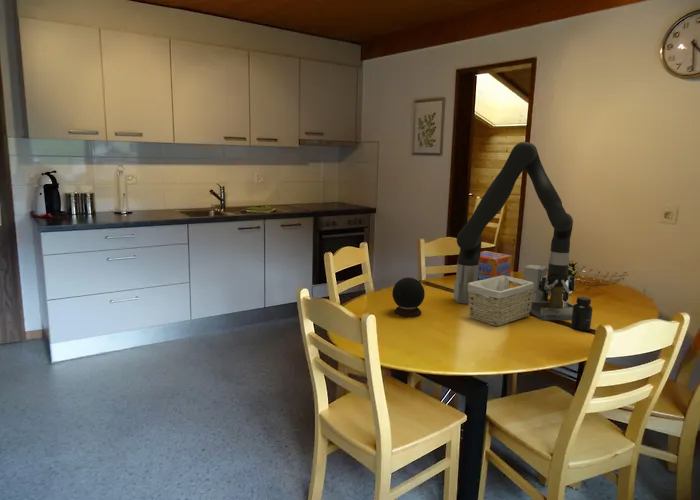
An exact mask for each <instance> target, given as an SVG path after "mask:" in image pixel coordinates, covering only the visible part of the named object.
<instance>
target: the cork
mask: <svg viewBox="0 0 700 500" xmlns="http://www.w3.org/2000/svg"><path fill="white" fill-rule="evenodd" d="M550 292H551V295H550V298H549V306H548V308H563V307H564V302H563V303H562V301H563V293H564V289H563V287H553V288H552V289H550Z"/></svg>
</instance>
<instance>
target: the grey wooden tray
mask: <svg viewBox="0 0 700 500" xmlns="http://www.w3.org/2000/svg"><path fill="white" fill-rule="evenodd" d="M549 301H550V300H549ZM549 301H547V302H545V301H543V300H541V301H537V302H536V301H531V304H530V305H531V307H530V312H529V313H531V314H532V315H534V316H535V317H537V318H538V319H540V320H541V321H570V320H572V312H573V306H574V305H575V304H573V303H571V302H570V301H568V300H567V301H563V300H562V303H563V308H548V306H549Z"/></svg>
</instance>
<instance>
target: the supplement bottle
mask: <svg viewBox="0 0 700 500" xmlns="http://www.w3.org/2000/svg"><path fill="white" fill-rule="evenodd" d="M575 302H576V303H574V304H573V305H574V306H573V312H572V320H571V322H570V327H571V329H573V330H574V331H575V330H576V331H579V332H580V331H581V332H588V331H590V330H591V327H592V326H591V325H592V319H593V318H592V317H593V312H594V311H593V310H594V309H593V306H592V305H591V303H592V299H591V298H590V297H587V296H577V297H576V301H575Z"/></svg>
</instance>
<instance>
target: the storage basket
mask: <svg viewBox="0 0 700 500" xmlns="http://www.w3.org/2000/svg"><path fill="white" fill-rule="evenodd" d="M509 283H510V285H515V286H513V287H510V285H509ZM533 289H534V283H533V282H529V281H526V280H525V279H521V278H517V277H513V276H511V277H508V276H504V275H501V276H497V277H492V278H488V279H484V280H480V281H475V282H470V283H468V294H469V295H468V297H469V304H468V311H469V318H471V319H472V320H473V319H474V320H476V321H480V322H482V323H485V324H489V325H491V326H496V327H499V326H503V325H507V324H510V323H511V322H515V321H518V320H520V319H521V320H522V319H524V318H526V317H529V316H531V315H530V313H531V312H530V307H531V305H530V304H531V302H532V301H531V299H532V293H533Z"/></svg>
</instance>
